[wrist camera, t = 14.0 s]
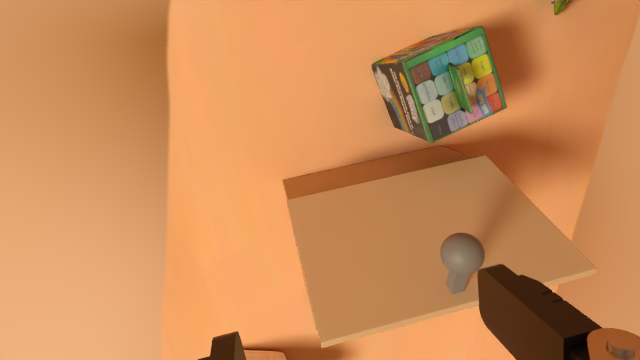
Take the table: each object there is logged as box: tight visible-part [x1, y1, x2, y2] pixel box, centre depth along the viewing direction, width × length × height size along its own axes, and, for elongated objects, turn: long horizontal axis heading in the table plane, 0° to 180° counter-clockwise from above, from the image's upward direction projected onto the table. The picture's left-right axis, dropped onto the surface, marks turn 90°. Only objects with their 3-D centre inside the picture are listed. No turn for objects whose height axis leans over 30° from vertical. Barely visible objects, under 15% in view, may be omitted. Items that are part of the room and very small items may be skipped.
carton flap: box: [287, 155, 597, 348], centre depth 34 cm, size 16×22×6 cm
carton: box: [283, 146, 472, 331], centre depth 49 cm, size 16×22×10 cm
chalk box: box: [372, 26, 507, 143], centre depth 43 cm, size 9×9×15 cm
